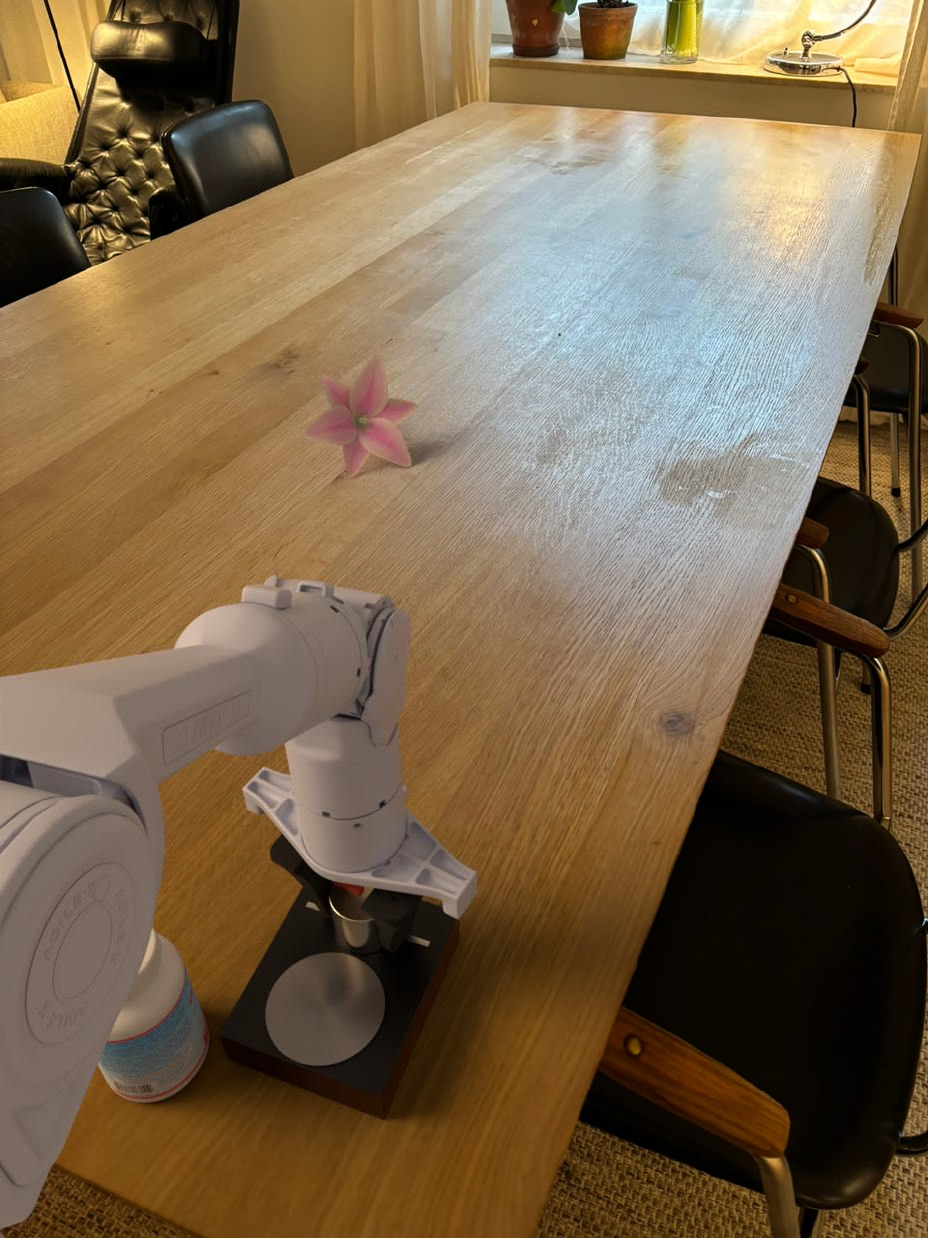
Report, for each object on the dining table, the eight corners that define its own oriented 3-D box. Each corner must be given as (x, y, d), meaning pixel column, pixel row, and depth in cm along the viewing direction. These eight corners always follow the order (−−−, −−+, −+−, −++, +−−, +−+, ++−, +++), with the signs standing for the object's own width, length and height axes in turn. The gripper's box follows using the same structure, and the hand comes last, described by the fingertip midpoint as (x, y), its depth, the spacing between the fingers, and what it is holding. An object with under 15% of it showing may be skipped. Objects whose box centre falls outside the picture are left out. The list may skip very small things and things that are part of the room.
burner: (354, 1085, 53) (354, 1083, 53) (243, 1043, 55) (243, 1041, 55) (403, 975, 58) (403, 973, 58) (300, 940, 60) (299, 938, 60)
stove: (384, 1121, 55) (380, 1096, 53) (226, 1060, 58) (217, 1033, 55) (467, 921, 64) (466, 893, 62) (328, 876, 67) (323, 848, 65)
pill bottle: (232, 1036, 59) (196, 932, 51) (156, 1127, 55) (106, 1028, 47) (158, 986, 61) (114, 879, 54) (81, 1069, 57) (22, 967, 50)
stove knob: (412, 914, 61) (409, 877, 59) (375, 965, 59) (371, 930, 56) (358, 886, 63) (353, 850, 60) (321, 935, 60) (314, 899, 58)
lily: (290, 481, 106) (303, 430, 98) (307, 393, 111) (321, 338, 103) (399, 507, 109) (420, 459, 100) (411, 420, 114) (432, 368, 105)
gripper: (506, 779, 51) (502, 924, 60) (286, 680, 57) (312, 826, 66) (434, 879, 47) (441, 1020, 56) (202, 761, 53) (243, 906, 61)
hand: (367, 921), depth 61 cm, fingers closed on stove knob, 4 cm apart
